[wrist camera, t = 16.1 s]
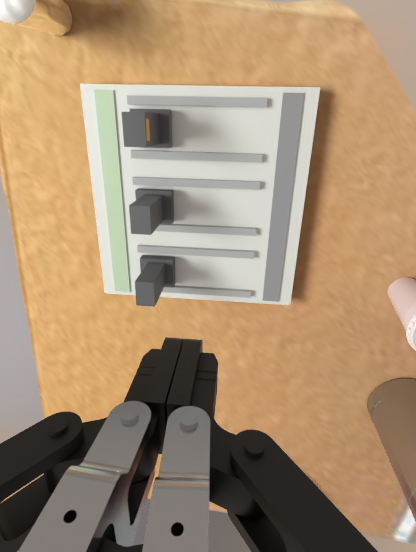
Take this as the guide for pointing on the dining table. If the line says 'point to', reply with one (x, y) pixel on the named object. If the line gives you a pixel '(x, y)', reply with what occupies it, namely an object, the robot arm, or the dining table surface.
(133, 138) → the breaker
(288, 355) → the dining table surface
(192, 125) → the panel
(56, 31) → the milkshake
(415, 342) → the smoothie
